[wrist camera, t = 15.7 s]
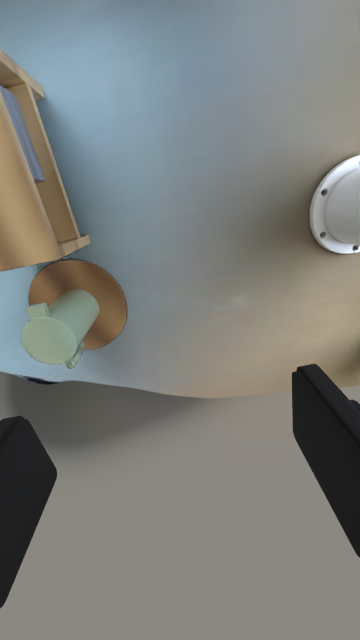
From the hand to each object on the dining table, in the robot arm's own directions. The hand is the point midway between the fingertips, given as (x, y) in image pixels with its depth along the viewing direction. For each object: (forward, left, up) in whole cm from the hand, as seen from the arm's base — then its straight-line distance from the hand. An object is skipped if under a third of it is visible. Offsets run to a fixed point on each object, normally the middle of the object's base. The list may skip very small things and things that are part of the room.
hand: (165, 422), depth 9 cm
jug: (+16, -3, -32) cm, 36 cm away
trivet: (+16, -3, -32) cm, 36 cm away
